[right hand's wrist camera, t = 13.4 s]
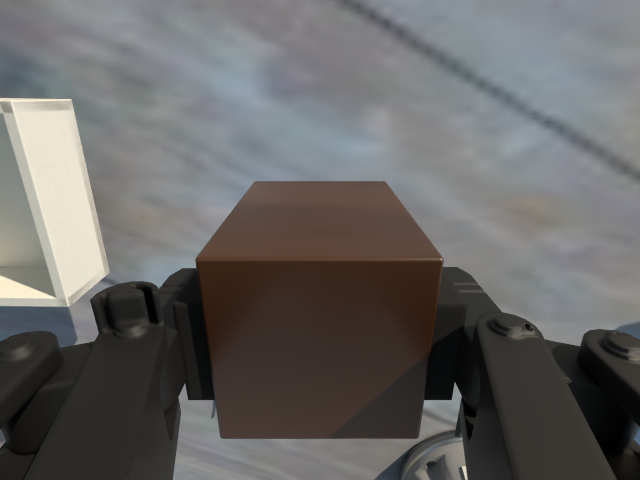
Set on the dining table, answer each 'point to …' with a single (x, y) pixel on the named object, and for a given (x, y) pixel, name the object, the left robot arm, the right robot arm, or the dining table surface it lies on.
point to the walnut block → (319, 312)
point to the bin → (45, 207)
